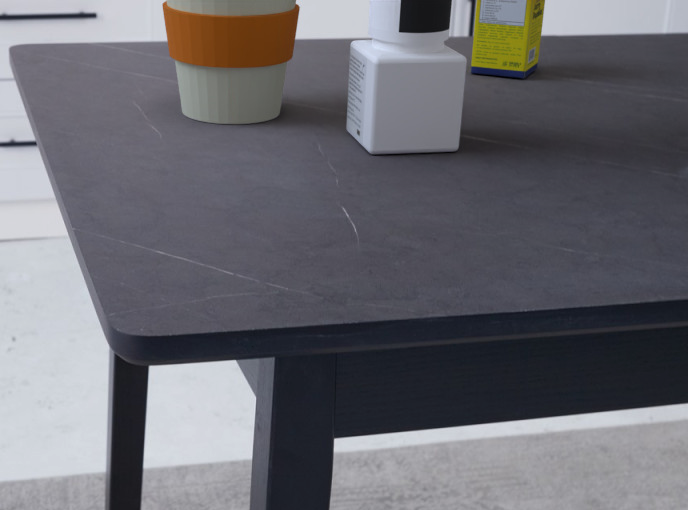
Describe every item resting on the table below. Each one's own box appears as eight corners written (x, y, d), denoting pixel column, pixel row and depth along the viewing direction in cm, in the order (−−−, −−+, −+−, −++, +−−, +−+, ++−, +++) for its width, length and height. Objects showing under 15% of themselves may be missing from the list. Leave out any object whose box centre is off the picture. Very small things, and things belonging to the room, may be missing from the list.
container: (429, 128, 102) (442, -28, 96) (459, 152, 95) (475, -14, 89) (345, 131, 100) (352, -27, 94) (369, 155, 93) (379, -13, 87)
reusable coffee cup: (235, 89, 113) (236, -75, 106) (328, 114, 105) (335, -62, 98) (133, 109, 105) (127, -68, 98) (225, 137, 97) (225, -52, 90)
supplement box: (537, 69, 125) (550, -38, 120) (524, 80, 120) (537, -31, 115) (484, 64, 127) (494, -42, 122) (469, 74, 122) (479, -36, 117)
